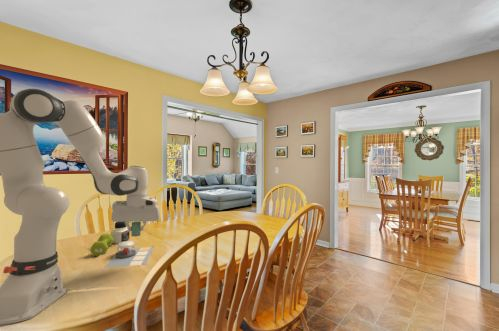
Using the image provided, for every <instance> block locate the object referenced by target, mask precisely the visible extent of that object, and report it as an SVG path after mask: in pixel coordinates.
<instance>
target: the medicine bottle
mask: <svg viewBox="0 0 499 331" xmlns="http://www.w3.org/2000/svg"><path fill="white" fill-rule="evenodd" d="M130 232H131V231H128V228H127V226H126V224H125V222H114V229H113V230H111V231H110V234H111V235H112V237H113V238H114V241H113V243H112V244H117V245H118V243H120V242H124V241H130V234H131V233H130Z"/></svg>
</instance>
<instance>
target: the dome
mask: <svg viewBox="0 0 499 331" xmlns="http://www.w3.org/2000/svg"><path fill="white" fill-rule="evenodd" d="M124 248H130V252H131V248H135V242H134V241H133V240H129V241H124V242H120V243H118V244H117V248H116V249H117V250H116V253H118V252H119V250H120V249H124Z"/></svg>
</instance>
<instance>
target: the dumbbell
mask: <svg viewBox="0 0 499 331" xmlns="http://www.w3.org/2000/svg"><path fill="white" fill-rule="evenodd" d="M113 241H114V238H113V237H112V235H111V233H103V234H101V235H100V236H99V238H98V240H97V241H95V242H94V243H93V244H92V245H91V247H90V249H89V251H90V253H91V254H92V255H93V257H99V256H103V255H105V254H106V253H107V252H108V249H109V247H111V246H112V244H114V243H113Z"/></svg>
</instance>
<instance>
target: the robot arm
mask: <svg viewBox="0 0 499 331" xmlns="http://www.w3.org/2000/svg"><path fill="white" fill-rule="evenodd" d="M46 123H54V124H55V125H57V126H58V127H59V128H60V129H61V130H62V132H63V133H64V134H65V136H66V137H67V139H68V140H69V142H70V143H71V144H72V146H73V147H74V149H75V150H76V151H77V153H78V155H79V156H80V158H81V160H82V161H83V163H84V165H85V166H86V167H87V169H88V171H89V174H91V177H92V178H93V184H94V187H95V188H94V189H95V190H96V191H97V192H98V193H99V194H101V195H111V196H117V197H118V196H119V197H122V196H126V200H116V201H114V202H113V203H112V205H111V209H112V212H111V221H112V222H113V223H116V222H125V224H126V228H127V229H128V231H130V232H131V231H132V226H131V225H130V223H132V222H137V221H139V222H142V225H141V227H140V231H141V232H144V231H145V226H146V225H147V223H148V222H157V221H159V220H160V218H161V211H160V206H159V204H158V203H159V202H158V199H156V198H152V197H150V196H148V186H149V175H148V170H147V169H146V168H145V167H143V166H139V165H138V166H137V165H130V166H129V167H128V168H125V170H122V171H120V172H118V173H116V172H112V171H111V170H110V169H108V168H107V166H106V164H105V162H104V161H103V159H102V157H101V155H100V149H101V147H102V146H103V144H104V141H105V137H104V134H103V131H102V130H101V128H100V126H99V125H98V123H97V122H96V120H95V118H94V117H93V116H92V115H91V113H90V112H89V110H87V108H86V107H85V106H84V105H83V104H82V103H81V102H80V101H77V100H74V99H73V100H70V99H69V100H60V99H58V98H57V97H55V96H54V95H53V94H51V93H49V92H46V91H45V90H42V89H39V88H26V89H22V90H21V89H20V90H19V91H17V92H16V93H15V94H14V95H13V96H12V98H11V100H10V103H9V105H8V108H7V111H5V112H0V176H1V179H2V188H3V193H4V197H3V203H4V204H3V205H5V207H6V208H7V209H8V210H9V211H11V213H13V214H16V215H18V216H19V215H20V216H21V217H22V218H21V219H22V220H21V222H20V223H21V224H20V226H19V230H18V231H17V233H16V234H15V236H14V238H13V240H14V241H13V259H12V261H11V263H10V266H5V267H4V268H3V269H2V271H3V272H2V273H3V274H8V275H7V278H6V279H5V280H3V281H4V282H3V283H1V285H0V326H2V325H9V324H14V323H18V322H23V321H27V320H30V319H32V318H34V317H35V316H37V315H38V314H39V313H41V312H42V311H43V310H45V309H47V307H49V306H51V305H52V304H53V303H54V302H56V301H57V300H59V299H60V298H61V297H63V296H64V295H65V294H67V288H64V285H63V276H62V275H63V274H62V269H61V268H60V267H59V266H58V264H57V263H58V261H59V260H58V259H59V254H58V251H57V234H58V228H59V224H60V222H61V218H62V216H63V215H64V214H65V213H66V212H67V211H68V209H69V207H70V198H69V196H68V195H67V193H65V192H64V191H62V190H60V189H58V188H57V187H54V186H53V187H52V186H46V185H45V183H44V175H43V174H44V169H45V165H46V164H45V162H44V159H43V157H42V153H41V151H40V148H39V145H38V144H37V143H38V142H37V141H36V138H35V135H34V134H35V133H34V128H35V126H36V125H37V124H46Z"/></svg>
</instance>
